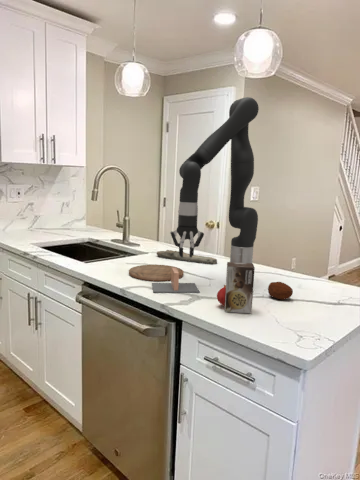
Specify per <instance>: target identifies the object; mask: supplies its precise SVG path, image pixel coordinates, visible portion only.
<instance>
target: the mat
mask: <svg viewBox="0 0 360 480" xmlns="http://www.w3.org/2000/svg"><path fill="white" fill-rule="evenodd" d="M151 287H152V292H153V294H200V293H201V292H200V289H199V287H198V286H197V285H196V283H195V282H179V287H178V291H174V290H173V288H172V285H171V282H151Z"/></svg>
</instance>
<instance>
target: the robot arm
mask: <svg viewBox="0 0 360 480" xmlns="http://www.w3.org/2000/svg"><path fill="white" fill-rule="evenodd" d="M259 109H260V108H259V103H258V102H257V100H256V99H254V98H253V97H249V96H247V97H242V98H239V99H237V100H235V101H233V102H231V105H230V107H229V111H228V113H229V114H228V116H229V117H228V118H227V120H226V121H225V122H224V123H222V125H220V127H218V128H216V130H215V131H213V132H212V133H211V134H210V135H209V136H208V137H207V138H205V140H204V141H203V142H202V143H201V145H200V146H199V147H198V148H197V149H196V150H195V151H194V153H193V154H191V155H190V156H189V157H188V158H186V159H185V161H183V163H182V164H181V165H180V167H179V171H178V172H179V176H180V177H181V178H182V183H181V184H182V187H181V188H180V190H179V202H178V203H179V205H178V211H177V212H178V214H177V215H178V217H177V218H178V219H177V220H178V221H177V228H176V230H173V231H171V230H170V232H169V234H170V236H171V238H172V241H173V243H174V245H175V247H177V248H178V252H179V255H180V257H183V252H184V243H185V240H189V253H188V254H189V257H192V256H193V255H195V254H194V251H195V248H196V247H197V248H198V247H199V246H200V243H201V242H202V239H203V238H204V236H205V233H204V232H202V231H199V229H198V214H199V206H198V200H199V199H198V198H199V187H200V183H201V175H202V169H203V168H204V167H205V166H207V165H208V164H209V163H210V162H212V161H213V159H215V157H216V156H217V155H218V154H219V153H220V152H221V150H222V149H223V148H224V147H226V145H227V144H228V143H229V142H230V141H231V143H230V197H229V207H228V221H229V225H230V226H231V227H232V228H235V229H238V230H239V234H238V235H237V236H234V237H232V238H231V241H230V257H229V262H237V263H253V258H254V245H255V241H256V238H257V231H258V222H259V215H258V211H257V210H256V209H255V208H253V207H248V206H245V195H246V191H247V189H248V187H249V186H250V184H251V181H252V179H253V177H254V175H255V174H254V173H255V157H254V156H255V155H254V152H253V148H252V145H251V141H250V138H249V124H250V123H251V122H252V121H253V120H254V119H256V118H257V116H258V114H259ZM177 234H178V235H179V237H180V238H179V243H178V240H177V238H176V237H177V236H178V235H177ZM196 235H197V238H196V241H195V240H194V238H195V237H196Z"/></svg>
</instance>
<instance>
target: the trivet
mask: <svg viewBox="0 0 360 480" xmlns="http://www.w3.org/2000/svg"><path fill="white" fill-rule="evenodd" d="M172 268H176V269H177V270H178V272H179V280H180V279H182V278H183V277H184V270H183V269H182V268H179V267H176V266H173V265H166V264H142V265H137V266H133V267H131V268H129V269H128V276H129V277H131V278H132V279H135V280H139V281H142V282H143V281H144V282H151V283H167V282H171V270H172Z"/></svg>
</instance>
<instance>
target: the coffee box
mask: <svg viewBox="0 0 360 480" xmlns="http://www.w3.org/2000/svg"><path fill="white" fill-rule="evenodd" d="M255 269H256V267H255V265H254V263H253V262H252V263H237V262H230V261H227V263H226V277H225V285H226V295H225V307H224V312H225V313H239V314H252V311H253V310H252V309H253V297H254V296H253V295H254V283H255V282H254V281H255Z"/></svg>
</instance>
